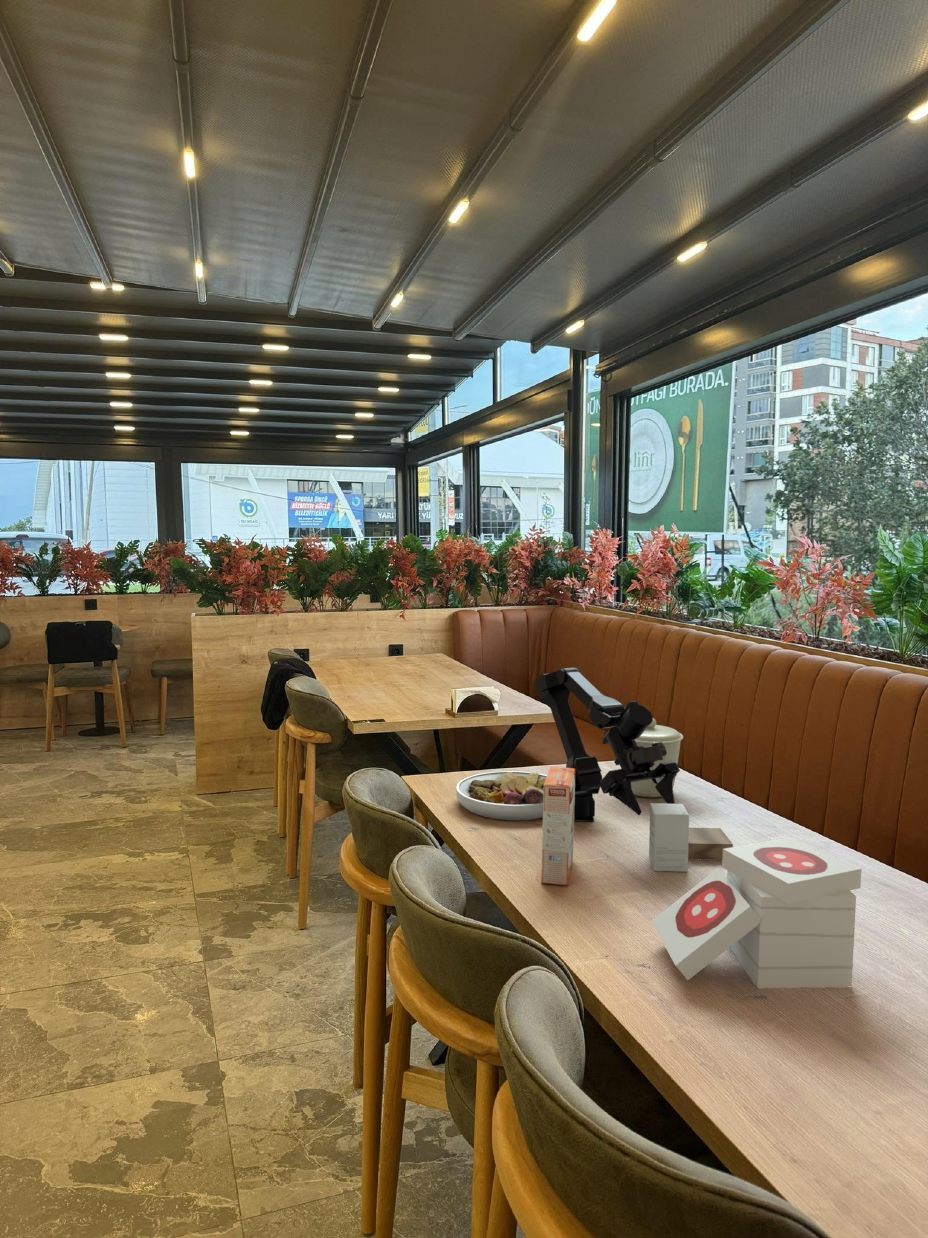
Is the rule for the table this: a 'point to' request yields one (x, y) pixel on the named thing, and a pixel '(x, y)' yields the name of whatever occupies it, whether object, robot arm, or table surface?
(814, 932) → the pizza boxes
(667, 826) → the supplement box
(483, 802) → the bowl
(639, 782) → the canister
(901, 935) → the table surface
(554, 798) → the cracker box
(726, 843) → the walnut riser block
